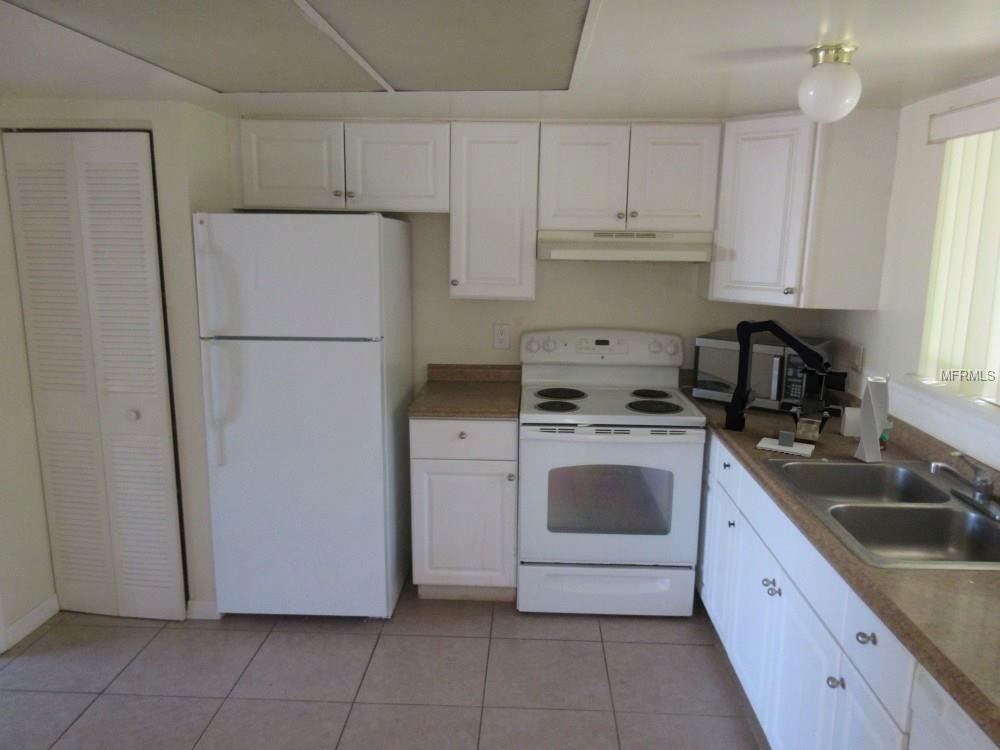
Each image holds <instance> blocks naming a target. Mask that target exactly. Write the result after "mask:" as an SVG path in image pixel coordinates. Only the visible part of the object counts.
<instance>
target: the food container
mask: <svg viewBox="0 0 1000 750" xmlns="http://www.w3.org/2000/svg"><path fill="white" fill-rule="evenodd" d="M893 428H894V422H893V420H892V419H891V418H889V417H887V420H886V423H885V426H884V429H883V431H882V434H881V436H880V438H879V443H880V452H883V451H886V450H887V447H888V444H889V439H890V434H891V431H892V430H891V429H893Z"/></svg>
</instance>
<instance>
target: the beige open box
mask: <svg viewBox="0 0 1000 750" xmlns="http://www.w3.org/2000/svg"><path fill="white" fill-rule="evenodd" d="M821 421H822V420H817V419H811V418H805V417H804V418H803V417H800V418H799V422H798V423H797V429H796V433H795V438H797V439H802V440H803V439H804V440H809V441H816V442H817V441H818V439H819V437H820V436H821V434H820V435H819V428H820V425H821Z"/></svg>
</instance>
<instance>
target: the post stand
mask: <svg viewBox="0 0 1000 750" xmlns="http://www.w3.org/2000/svg"><path fill="white" fill-rule="evenodd" d="M795 437H796V433H795V432H792V431H785V430H780V431H779V435H778V439H777V438H770V437H763V438H762V439H761V440H760V441H759V442H758V444H757V445H756V448H757V450H761V449H766V450H765V451H767V450H772V451H771V452H773V451H778V452H777V453H779V452H784V453H783V454H785V453H789V454H788V455H791V454H794V455H793V456H797V455H801V456H800V457H803V456H804V458H810V457H811V455H812V454H813V452H814V449H816V448H815V445H814V444H808V443H802V442H796V441H795ZM812 451H813V452H812ZM811 453H812V454H811Z"/></svg>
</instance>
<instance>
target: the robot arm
mask: <svg viewBox="0 0 1000 750" xmlns="http://www.w3.org/2000/svg"><path fill="white" fill-rule="evenodd" d="M735 330H736V338H737V342H738V344H739V348H738V349H739V350H738V364H737V366H738V367H737V378H736V379H737V380H736V381H737V382H736V386H735V388H734V390H733V393H732V395H731V400H730V402H729V403H727V404H726V405H725V406H723V409H724V413H725V422H724V426H723V429H724V430H730V431H731V430H732V431H738V432H742V431H744V430H745V428H747V419H748V417H747V416H746V414H747V411H748V409H749V408H750V407H751V406H752V405H754V402H755V401H756V393H757V390H756V389H753V388H752V386H751V381H752V369H753V368H752V367H753V366H752V365H753V353H754V345H755V343H756V340H757V338H758V336H759V335H758V334H759V333H763V332H769V333H771V334H772V335H774V337H776V338H777V339H779V340H780V341H781V342H782V343H784V344H785V345H786V346H788V347H789V348H790V349H792V350H793V351H794V352H795V353H796V354H797V355H798V357H799V358H800V360H801V361H802V362H803V363H804V365H805V366H804V367H803V368H802V369H801V370H799V371H798V373H799V374H802V375H803V374H804V375H805V376H804V377H805V378H804V384H803V385H804V386H803V395H802V397H801V400H800V401H801V402H800V403H796V399H795V400H793V399H785V398H784V399H782V401H781V402H780V407H779V410H782V411H787V413H788V414H790V415H791V416H792V418H793V421H794V424H795V428H796V430H797V423H798V422H799V421H800V412H801V413H804V414H806V413H807V414H811V415H816V414H817V413H823V414H822V418H821V420H820V421H821V425H820V428H819V435H820V436H821V434H822V431H823V429H824V427H825V425H826V423H827V421H829V419H830V420H831V419H833V418H842V416H843V413H844V408H843V407H842V406H841V405H833V404H830V405H829V407H828V406H827V407H826V406H825V399H822V398H823V391H824V388H826V389H827V391H832V392H833V391H834V392H840V393H848V392H849V389H850V385H851V380H850V375H849V373H850V371H846V370H843V371H842V370H835V369H834V368H833V366H832V365H831V363H830V362H829V355H828V353H827V352H826V351H825V350H823V349H821V348H818V347H816V346H814V345H811V344H809V343H807V342H805V341H804V340H803V339H802V338H800V337H799V336H798V335H797V334H795V333H794V332H792V331H791V330H790V329H789V328H787V327H786V326H784V325H783V324H782V323H781V322H780V321H779V320H778V319H776V318H773V319H768V320H761V321H757V320H754V319H746V320H741V321H740V322H739V323H737V325H736V328H735Z"/></svg>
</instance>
